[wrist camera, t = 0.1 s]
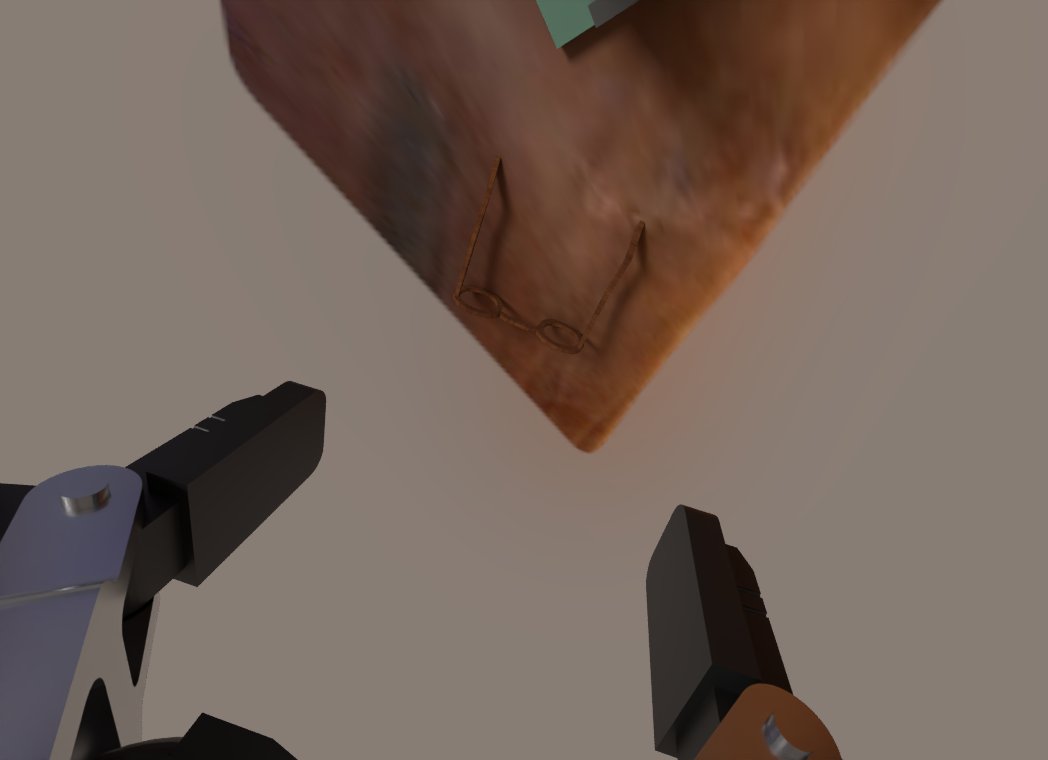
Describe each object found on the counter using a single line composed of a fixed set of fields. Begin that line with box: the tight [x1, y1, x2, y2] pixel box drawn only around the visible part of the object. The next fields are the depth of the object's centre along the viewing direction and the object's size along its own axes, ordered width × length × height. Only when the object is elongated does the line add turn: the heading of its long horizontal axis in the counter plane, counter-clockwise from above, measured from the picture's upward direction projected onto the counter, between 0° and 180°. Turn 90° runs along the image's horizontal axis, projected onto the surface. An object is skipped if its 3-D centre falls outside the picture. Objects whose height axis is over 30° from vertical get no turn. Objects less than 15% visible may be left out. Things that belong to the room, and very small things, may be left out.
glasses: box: [453, 157, 645, 354], centre depth 41 cm, size 13×13×5 cm
